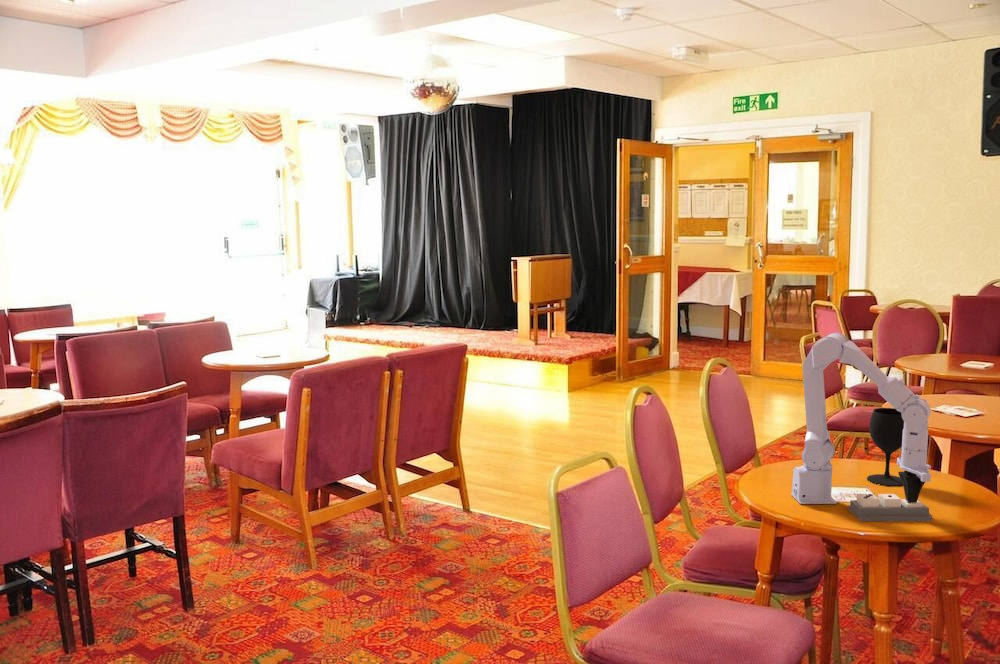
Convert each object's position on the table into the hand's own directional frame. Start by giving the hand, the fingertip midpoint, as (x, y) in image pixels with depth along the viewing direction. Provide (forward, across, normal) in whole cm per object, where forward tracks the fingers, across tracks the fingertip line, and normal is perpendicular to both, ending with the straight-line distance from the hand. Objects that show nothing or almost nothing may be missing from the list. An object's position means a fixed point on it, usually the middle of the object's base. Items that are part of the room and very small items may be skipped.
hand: (911, 501), depth 224 cm
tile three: (+1, 0, +11) cm, 11 cm away
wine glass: (+4, +28, -6) cm, 29 cm away
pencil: (+4, +6, -6) cm, 9 cm away
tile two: (+3, 0, 0) cm, 3 cm away
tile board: (+3, 0, +5) cm, 6 cm away
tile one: (+1, 0, +5) cm, 6 cm away
